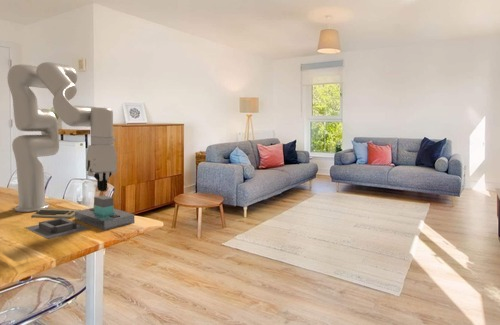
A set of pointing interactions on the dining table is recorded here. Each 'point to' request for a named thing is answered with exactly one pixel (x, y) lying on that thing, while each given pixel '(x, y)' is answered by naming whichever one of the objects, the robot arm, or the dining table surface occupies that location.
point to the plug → (103, 205)
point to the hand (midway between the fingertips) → (102, 190)
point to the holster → (57, 228)
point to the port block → (104, 218)
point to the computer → (55, 213)
